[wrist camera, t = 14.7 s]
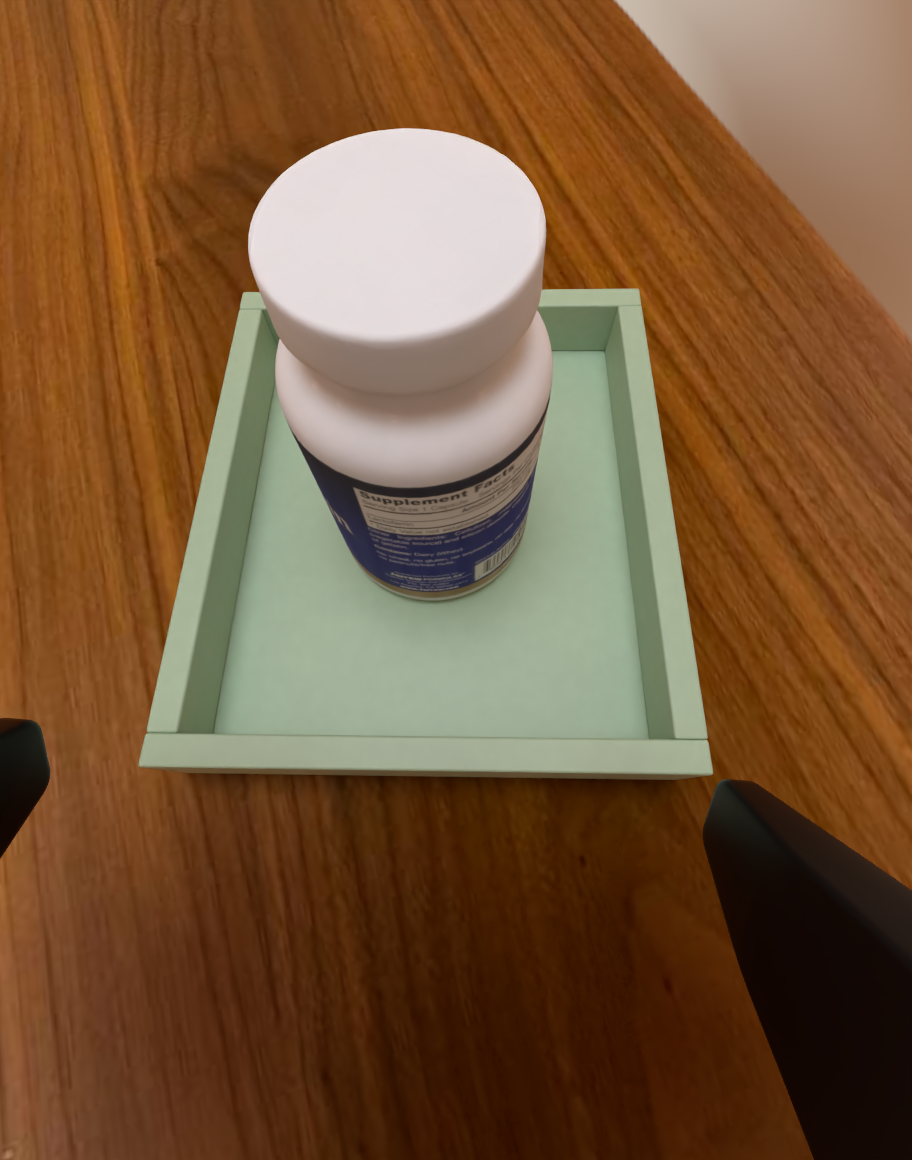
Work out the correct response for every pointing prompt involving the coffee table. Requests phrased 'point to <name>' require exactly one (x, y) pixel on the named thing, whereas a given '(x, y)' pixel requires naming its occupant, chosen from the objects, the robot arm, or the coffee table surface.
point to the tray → (440, 627)
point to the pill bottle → (411, 348)
